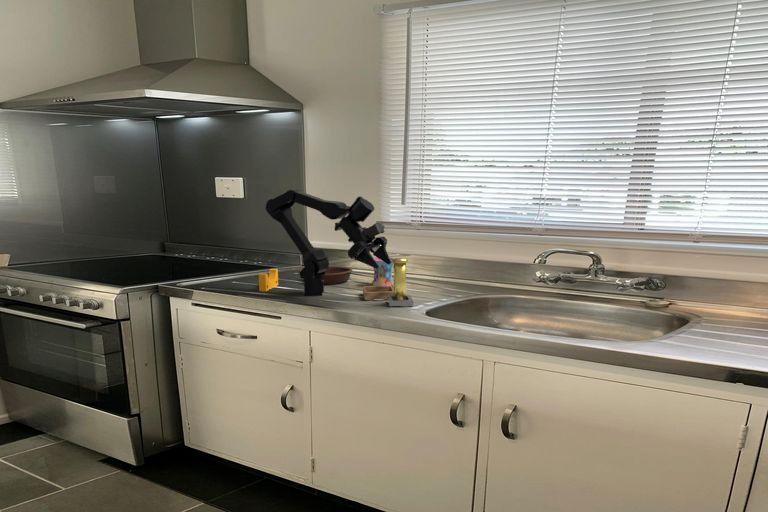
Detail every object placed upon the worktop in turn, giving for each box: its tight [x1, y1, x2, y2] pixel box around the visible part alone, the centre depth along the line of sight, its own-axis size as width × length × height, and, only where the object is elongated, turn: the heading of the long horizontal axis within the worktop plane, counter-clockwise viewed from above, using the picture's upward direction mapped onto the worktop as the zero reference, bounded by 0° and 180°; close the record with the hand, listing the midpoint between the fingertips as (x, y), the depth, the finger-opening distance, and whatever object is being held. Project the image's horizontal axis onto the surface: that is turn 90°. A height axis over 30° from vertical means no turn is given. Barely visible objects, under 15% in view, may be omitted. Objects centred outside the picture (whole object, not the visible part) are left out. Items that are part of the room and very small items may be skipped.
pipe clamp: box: [258, 268, 279, 292], centre depth 195 cm, size 12×4×6 cm, turn 170°
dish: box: [322, 266, 353, 285], centre depth 207 cm, size 18×22×5 cm
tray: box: [362, 285, 394, 301], centre depth 180 cm, size 10×10×3 cm
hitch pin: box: [392, 257, 409, 300], centre depth 168 cm, size 5×5×15 cm
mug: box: [371, 257, 394, 287], centre depth 198 cm, size 12×9×11 cm
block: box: [386, 294, 414, 307], centre depth 169 cm, size 8×8×2 cm
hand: (384, 265), depth 170 cm, fingers open, 9 cm apart
